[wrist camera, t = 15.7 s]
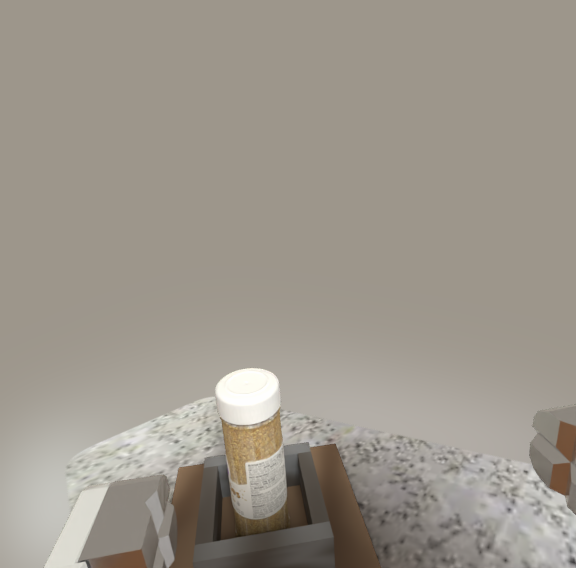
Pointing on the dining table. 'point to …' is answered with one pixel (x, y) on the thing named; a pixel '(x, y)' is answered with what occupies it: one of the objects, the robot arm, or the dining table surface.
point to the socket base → (283, 543)
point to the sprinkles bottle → (254, 450)
